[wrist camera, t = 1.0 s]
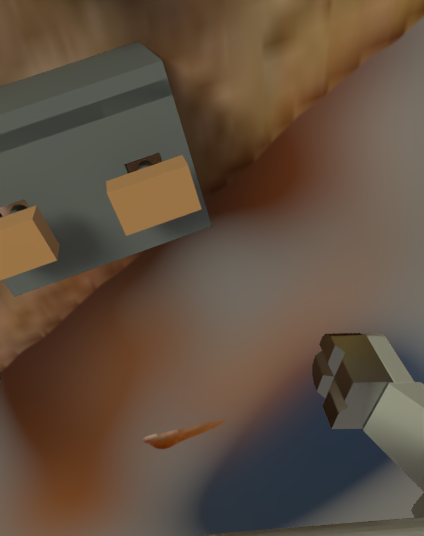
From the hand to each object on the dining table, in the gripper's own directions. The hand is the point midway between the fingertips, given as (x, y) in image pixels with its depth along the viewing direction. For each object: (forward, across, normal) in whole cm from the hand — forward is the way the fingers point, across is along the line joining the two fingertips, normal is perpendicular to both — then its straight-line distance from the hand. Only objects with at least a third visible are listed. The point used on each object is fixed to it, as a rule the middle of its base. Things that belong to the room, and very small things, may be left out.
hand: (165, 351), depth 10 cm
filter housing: (+35, -7, -6) cm, 37 cm away
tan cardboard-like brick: (+20, -10, -7) cm, 23 cm away
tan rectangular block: (+21, -1, -4) cm, 21 cm away
